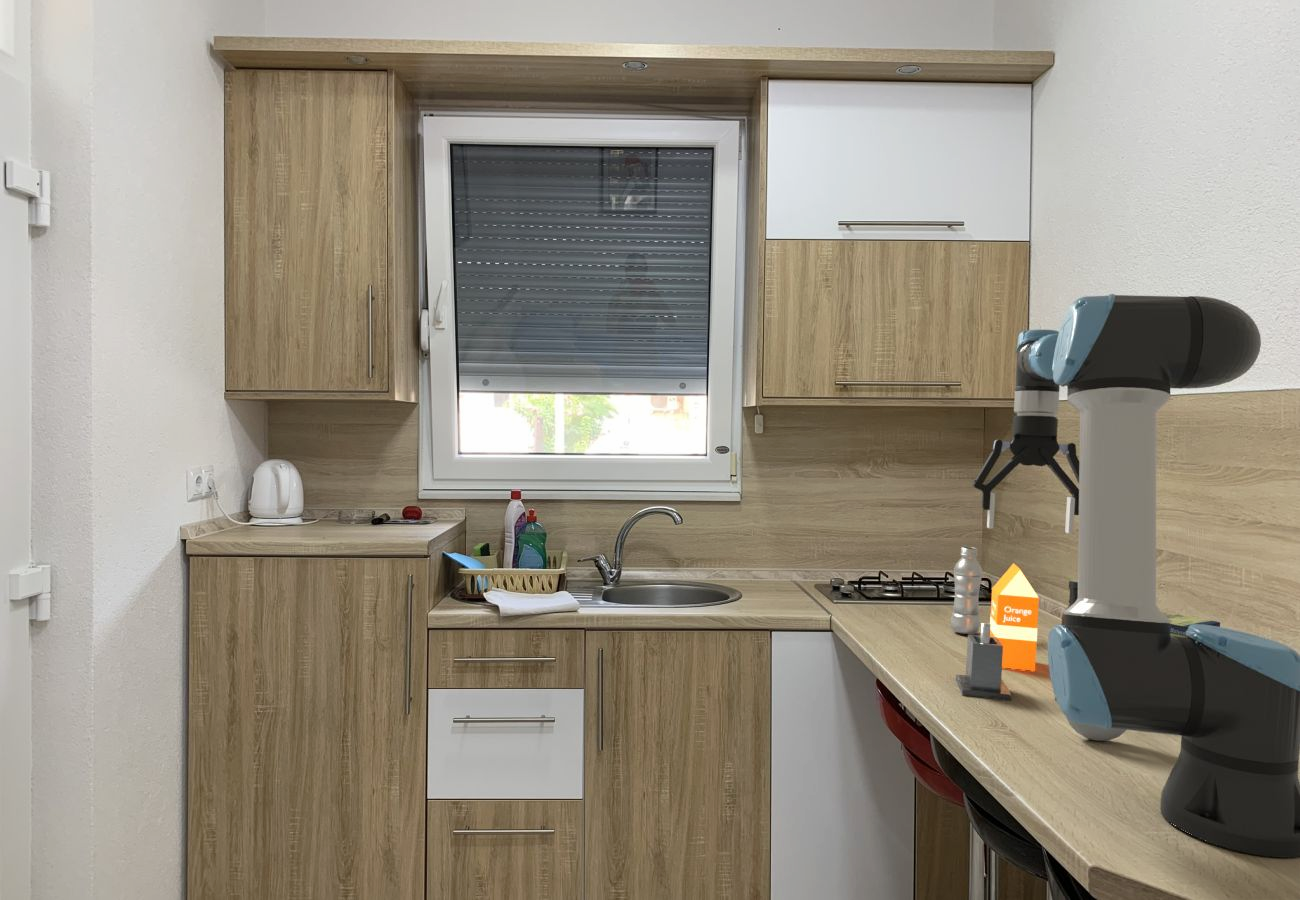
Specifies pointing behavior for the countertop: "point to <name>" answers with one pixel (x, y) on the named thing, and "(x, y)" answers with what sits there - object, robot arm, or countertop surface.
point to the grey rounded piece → (1096, 731)
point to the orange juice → (1015, 619)
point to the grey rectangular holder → (984, 663)
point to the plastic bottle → (966, 592)
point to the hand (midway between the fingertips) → (1029, 530)
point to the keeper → (981, 692)
